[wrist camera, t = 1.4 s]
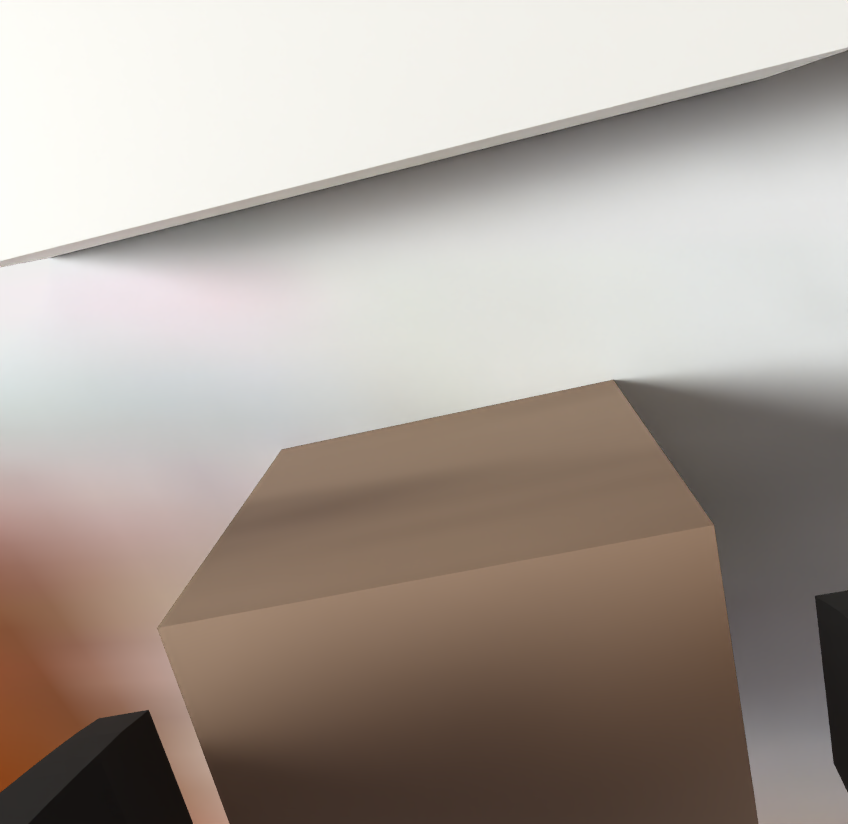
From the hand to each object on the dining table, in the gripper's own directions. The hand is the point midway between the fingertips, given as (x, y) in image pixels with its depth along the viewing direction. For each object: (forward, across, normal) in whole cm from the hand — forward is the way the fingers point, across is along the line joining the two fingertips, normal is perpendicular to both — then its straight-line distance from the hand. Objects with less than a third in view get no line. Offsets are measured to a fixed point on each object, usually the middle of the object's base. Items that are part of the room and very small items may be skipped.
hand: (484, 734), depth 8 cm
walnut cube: (+4, 0, 0) cm, 4 cm away
